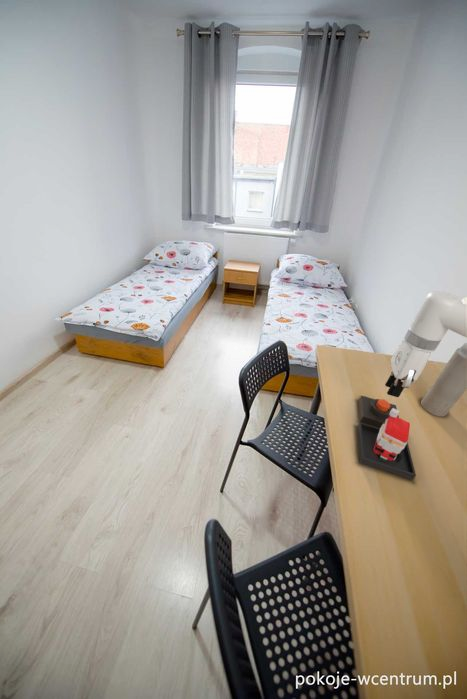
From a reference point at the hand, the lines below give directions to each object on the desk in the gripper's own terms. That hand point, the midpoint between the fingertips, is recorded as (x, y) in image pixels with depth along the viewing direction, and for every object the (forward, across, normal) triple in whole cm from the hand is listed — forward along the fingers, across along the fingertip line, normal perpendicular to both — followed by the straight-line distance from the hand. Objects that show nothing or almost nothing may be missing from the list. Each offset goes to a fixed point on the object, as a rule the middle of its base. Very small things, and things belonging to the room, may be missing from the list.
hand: (391, 390), depth 82 cm
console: (+11, 0, 0) cm, 11 cm away
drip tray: (+11, +14, 0) cm, 18 cm away
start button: (+7, 0, 0) cm, 7 cm away
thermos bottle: (+11, -13, +20) cm, 26 cm away
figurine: (+11, +14, +1) cm, 17 cm away
